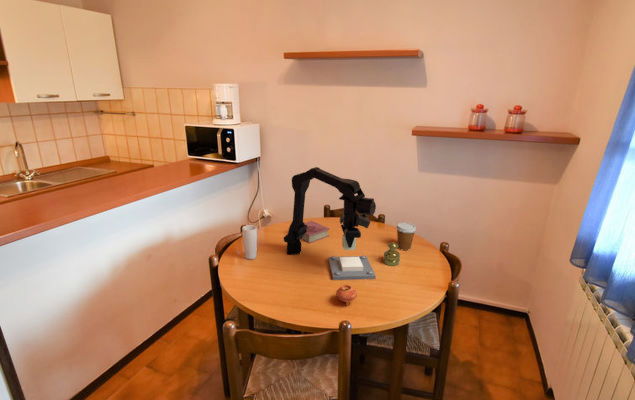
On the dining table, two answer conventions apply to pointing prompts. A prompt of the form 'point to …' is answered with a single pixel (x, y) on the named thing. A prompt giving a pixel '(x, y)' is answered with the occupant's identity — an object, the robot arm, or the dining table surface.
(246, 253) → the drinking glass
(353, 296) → the pot
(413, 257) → the dining table surface
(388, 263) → the green tiered ornament
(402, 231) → the disposable coffee cup
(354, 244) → the sage brick
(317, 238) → the book
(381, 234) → the dining table surface
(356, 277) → the tower base
